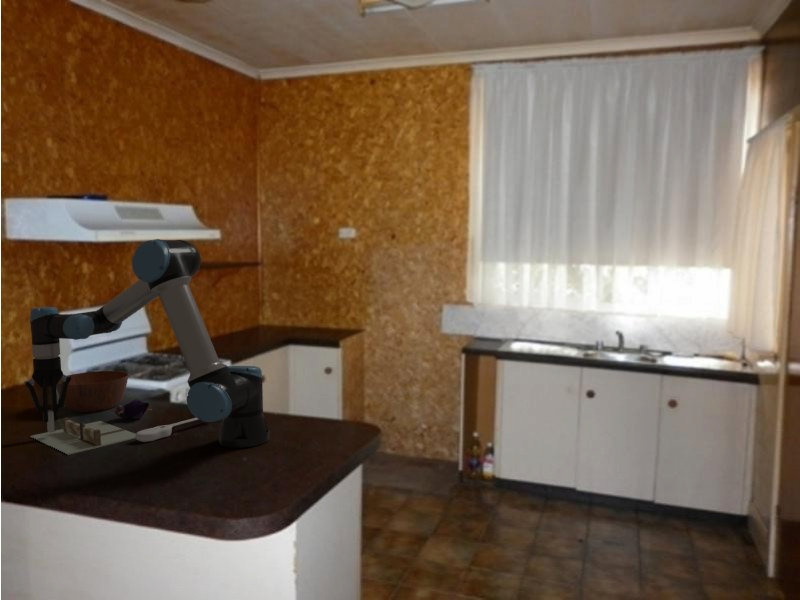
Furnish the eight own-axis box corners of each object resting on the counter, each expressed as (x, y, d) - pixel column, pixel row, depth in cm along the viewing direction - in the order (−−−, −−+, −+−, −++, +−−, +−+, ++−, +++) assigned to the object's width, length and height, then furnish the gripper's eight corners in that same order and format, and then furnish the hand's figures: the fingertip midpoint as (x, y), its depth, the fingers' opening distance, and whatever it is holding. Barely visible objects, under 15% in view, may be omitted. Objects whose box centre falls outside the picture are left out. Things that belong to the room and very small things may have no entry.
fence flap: (83, 436, 196) (82, 423, 195) (78, 437, 195) (77, 424, 194) (68, 430, 203) (67, 417, 203) (63, 431, 202) (62, 418, 202)
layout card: (141, 437, 197) (141, 435, 197) (67, 455, 180) (67, 453, 180) (100, 422, 215) (100, 420, 215) (30, 437, 198) (30, 435, 198)
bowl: (81, 419, 219) (79, 387, 218) (42, 410, 232) (40, 380, 231) (144, 404, 240) (142, 374, 239) (104, 396, 253) (103, 368, 252)
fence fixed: (101, 446, 188) (100, 428, 188) (96, 447, 187) (95, 429, 187) (84, 439, 195) (83, 422, 195) (79, 440, 194) (78, 423, 194)
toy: (151, 421, 216) (149, 402, 215) (115, 426, 213) (112, 407, 211) (152, 411, 226) (150, 393, 225) (118, 415, 223) (115, 397, 222)
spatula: (207, 420, 215) (207, 412, 215) (218, 423, 212) (217, 415, 212) (131, 441, 192) (131, 432, 192) (142, 444, 189) (142, 435, 189)
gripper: (67, 353, 202) (71, 425, 203) (20, 357, 193) (24, 432, 195) (72, 355, 196) (76, 429, 198) (24, 361, 187) (29, 438, 189)
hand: (51, 431), depth 196 cm, fingers closed
